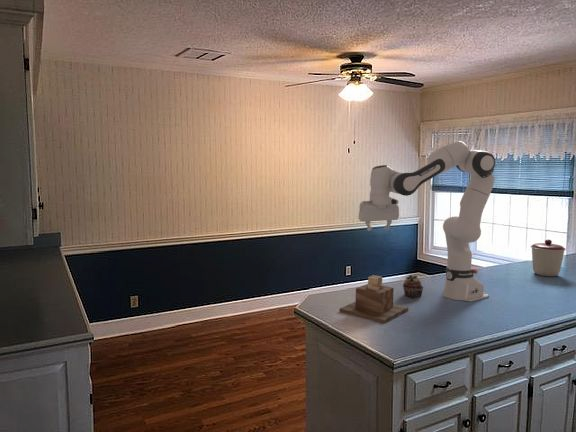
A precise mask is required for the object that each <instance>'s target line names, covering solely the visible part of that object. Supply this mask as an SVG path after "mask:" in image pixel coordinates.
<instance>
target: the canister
mask: <svg viewBox="0 0 576 432" xmlns="http://www.w3.org/2000/svg"><path fill="white" fill-rule="evenodd" d="M530 248H531V258H532V270H533V272H534V274H536V275H538V276H542V277H556V276H558V275H559V274H560V273H561V269H562V264H563V259H564V255H565V251H566V247H564V246H562V245H560V244H557V243H553V241H552V240H551V239H545V240H544V242H539V243H534V244H533V243H532V244H531V245H530Z"/></svg>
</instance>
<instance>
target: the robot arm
mask: <svg viewBox="0 0 576 432" xmlns="http://www.w3.org/2000/svg"><path fill="white" fill-rule="evenodd" d="M455 167H456V168H457V170H458V171H460V172H463V173H466V174H469V175H470V178H469V182H468V184H467V186H466V188H465V190H464V192H463V195H462V196H461V199H460V202H459V207H460V208H459V214H458V216H450V217H448V218H446V219H445V220H444V222H443V223H442V229H443V233H444V235H445V242H446V249H447V263H446V265H447V266H446V267H445V281H444V287H443V289H442V290H443V291H442V294H441V295H442V297H444V298H446V299H450V300H454V301H455V300H456V301H465V302H470V303H471V302H475V301H478V300H483V299H486V298H489V297H490V296H489V294H488V293H486V292H485V290H484V289H485V288H484V284H483V283H482V282H481V281H480V280H478V278H476V277H475V275H478V272H479V271H478V270H477V269H472V260H473V259H472V258H473V257H472V256H473V254H472V251H471V247H470V245H469V243H475V242H476V241H478V240H479V239H480V237H481V234H482V229H481V221H482V215H483V213H484V209H485V207H486V204H487V202H488V200H489V198H490V195H491V193H492V190H493V187H494V183H495V178H496V177H495V175H494V174H493V173H494V172H495V167H496V157H495V156H494V155H493V154H492V153H491V152H489V151H487V150H479V149H478V150H477V149H473V150H470V149H469V147H468V146H467V144H466V143H465V142H463V141H460V140H457V141H454V142H451V143H448V144H445V145H443V146H441V147H439V148H437V149H436V150H434V151H432V152H431V153H430V154H429V155H428V157H427V163H426V164H425V165H424V166H422V167H420V168H419V169H417V170H415V171H413V172H399V171H397V170H394V169H393V168H391V167H390V166H389V165H387V164H384V165H376V166H374V167H372V169H371V172H370V176H369V177H370V179H369V186H370V190H369V200H367V201H366V200H363V201H362V202H360V203H359V210H358V217H357V218H358V220H359V221H360V222H365V225H366V227H367V228H366V229H367V231H368V232H372V231H373V226H371V222H376V221H377V222H379V221H382V222H383V221H386V225H384V230H386V231H389V230H390V226H391V224H392V222H393V221H397V220H398V219H399V218H400V208H399V205H398V204H399V199H396V198H393V197H390V193H391V192H392V193H393V194H397V195H398V194H399V195H402V196H404V197H405V196H407V197H409V196H411V195H413V194H414V193H415V192H416V191H417V190H418V189H419V187H420V186H422V185H423V184H424V183H426V182H428V181H430V180H431V179H433V178H435V177H436V176H437V175H440V174H442V173H445V172H447V171H450V170H451V169H453V168H455ZM474 274H475V275H474Z"/></svg>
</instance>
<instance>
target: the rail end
mask: <svg viewBox="0 0 576 432" xmlns="http://www.w3.org/2000/svg"><path fill="white" fill-rule="evenodd" d="M367 284H368V289H371V290H376V291H378V290H380V289H382V286H383V276H379V275H373V274H371V276H368V277H367Z"/></svg>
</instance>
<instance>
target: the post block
mask: <svg viewBox="0 0 576 432" xmlns="http://www.w3.org/2000/svg"><path fill="white" fill-rule="evenodd" d="M394 289H395V288H394V287H393V286H392V287H391V286H386V285H382V289H380V290H378V291H376V290H371V289H368V283H366V284H363V285H361V286H359V287H357V288H355V301H354V302H351V303H349V304H347V305H344V306H343V307H340V308H339V313H343V314H346V315H350V316H353V317H354V316H355V317H358V318H361V319H365V320H370V321H373V322H377V323H382V324H386V323H388V322H390V321H391V320H393V319H395V318H397V317H400V316H401V315H403V314H404V313H406V312H409V306H405V305H400V304H396V303H394Z"/></svg>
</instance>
